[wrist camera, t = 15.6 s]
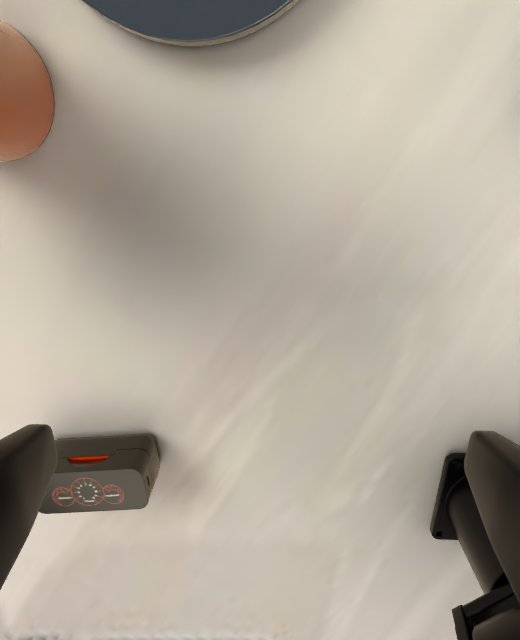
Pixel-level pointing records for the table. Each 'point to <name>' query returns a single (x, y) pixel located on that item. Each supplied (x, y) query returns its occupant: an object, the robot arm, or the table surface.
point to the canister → (22, 96)
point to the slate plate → (191, 18)
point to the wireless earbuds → (102, 474)
